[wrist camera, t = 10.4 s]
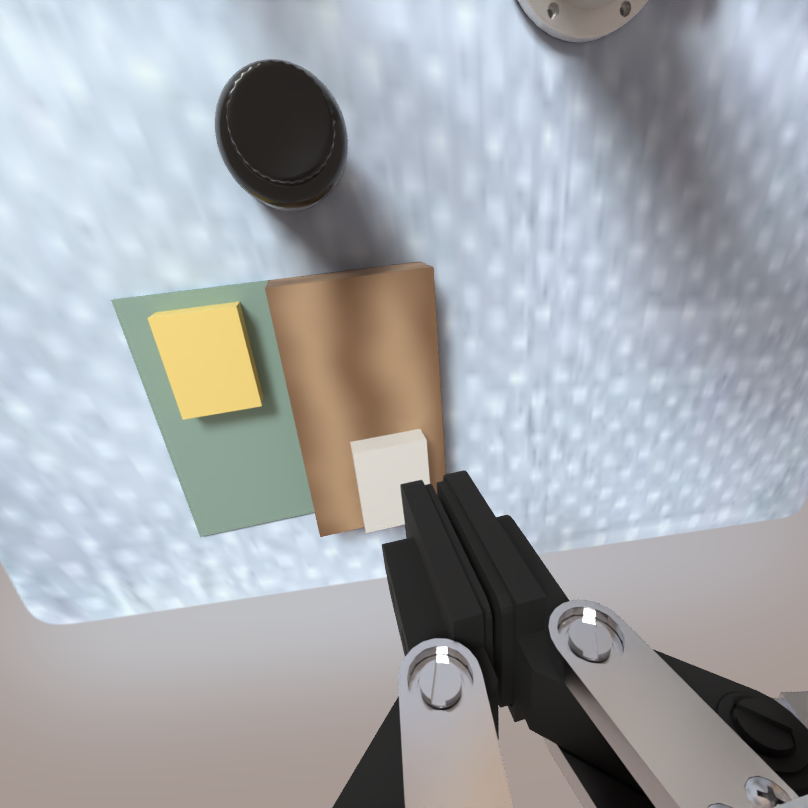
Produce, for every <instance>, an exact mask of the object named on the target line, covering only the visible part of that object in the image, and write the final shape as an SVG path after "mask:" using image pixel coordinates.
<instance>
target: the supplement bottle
mask: <svg viewBox="0 0 808 808" xmlns="http://www.w3.org/2000/svg"><path fill="white" fill-rule="evenodd" d="M215 133H216V139H217V144H218V148H219V151H220V154H221V156H222V159H223V161H224V163H225V165H226V167H227V168H228V170H229V172H230V173H231V175H232V176H233V178H234V179H235V180H236V181H237V183H238V184H239V185H240V186H241V187H242V188H243V189H244V190H245V191H246V192H248V193H249V194H250V195H251V196H253V197H254V198H256V199H257V200H259V201H261V202H262V203H264V204H266V205H267V206H270V207H272V208H274V209H278V210H282V211H301V210H305V209H307V208H310V207H312V206H314V205H315V204H317V203H318V202H319V201H321V200H322V199H323V198H324V197H326V196H327V195H328V194H329V193H330V192H331V191H332V190H333V188H334V187H335V186H336V184H337V183H338V181H339V179H340V177H341V175H342V172H343V170H344V167H345V163H346V158H347V150H348V139H347V131H346V125H345V122H344V118H343V115H342V112H341V110H340V108H339V106H338V104H337V102H336V100H335V98H334V97H333V95H332V94H331V92H330V91H329V90H328V88H327V87H326V86H325V85H324V84H323V83H322V82H321V81H320V80H319V79H318V78H317V77H316V76H315V75H313V74H312V73H311V72H309V71H308V70H306V69H304V68H303V67H301V66H299V65H297V64H294V63H291V62H288V61H284V60H277V59H268V60H261V61H256V62H254V63H251V64H249V65H247V66H245V67H243V68H242V69H240V70H239V71H238V72H236V73H235V74H234V75H233V76H232V77H231V78H230V80H229V81H228V82H227V84H226V85H225V87H224V89H223V90H222V92H221V95H220V97H219V100H218V103H217V108H216V113H215Z"/></svg>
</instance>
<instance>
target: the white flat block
mask: <svg viewBox="0 0 808 808" xmlns="http://www.w3.org/2000/svg"><path fill="white" fill-rule="evenodd" d="M350 444H351V450H352V456H353V462H354V468H355V474H356V481H357V487H358V493H359V499H360V505H361V511H362V517H363V522H364V527H365V531H366V533H369V532H374V531H378V530H382V529H387V528H391V527H396V526H400V525H404V524H405V521H404V513H403V505H402V497H401V489H400V485H401V484H404V483H408V482H413V481H418V480H423V482H424V484H425V485H427V484H430V478H429V465H428V452H427V440H426V438H425V436H424V434H423V433H422V431H421V429H416V430H411V431H406V432H401V433H395V434H390V435H385V436H379V437H374V438H369V439H364V440H358V441H353V442H350Z"/></svg>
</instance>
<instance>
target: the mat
mask: <svg viewBox="0 0 808 808" xmlns="http://www.w3.org/2000/svg"><path fill="white" fill-rule="evenodd" d="M267 282H268V281H259V282H251V283H243V284H235V285H227V286H219V287H211V288H203V289H195V290H187V291H178V292H170V293H162V294H154V295H146V296H138V297H130V298H122V299H114V300H112V303H113V306H114V308H115V311H116V314H117V316H118V319H119V322H120V324H121V327H122V330H123V332H124V335H125V338H126V340H127V343H128V346H129V348H130V351H131V354H132V356H133V359H134V362H135V364H136V367H137V370H138V372H139V375H140V378H141V380H142V383H143V386H144V388H145V391H146V394H147V396H148V399H149V402H150V404H151V407H152V410H153V412H154V415H155V417H156V420H157V423H158V425H159V428H160V431H161V433H162V436H163V439H164V441H165V444H166V447H167V449H168V452H169V455H170V457H171V460H172V463H173V465H174V468H175V471H176V473H177V476H178V479H179V481H180V484H181V487H182V489H183V492H184V495H185V497H186V500H187V503H188V505H189V508H190V511H191V513H192V516H193V519H194V521H195V524H196V527H197V529H198V532H199V535H200V537H202V536H207V535H211V534H216V533H221V532H225V531H230V530H235V529H239V528H244V527H249V526H253V525H258V524H263V523H267V522H272V521H277V520H281V519H286V518H291V517H296V516H300V515H305V514H310V513H314V512H315V511H314V506H313V502H312V497H311V493H310V488H309V484H308V479H307V475H306V471H305V466H304V462H303V457H302V453H301V448H300V444H299V439H298V435H297V430H296V426H295V421H294V417H293V412H292V408H291V403H290V399H289V394H288V390H287V385H286V381H285V376H284V372H283V368H282V363H281V359H280V354H279V350H278V345H277V341H276V336H275V332H274V327H273V323H272V318H271V314H270V309H269V305H268V300H267V296H266V291H265V287H266V285H267ZM239 301H240V305H241V309H242V313H243V317H244V321H245V325H246V329H247V332H248V336H249V340H250V344H251V348H252V352H253V356H254V360H255V364H256V368H257V372H258V376H259V380H260V384H261V388H262V392H263V396H264V397H263V403H262V406H260V407H255V408H249V409H243V410H237V411H231V412H225V413H219V414H213V415H208V416H202V417H196V418H190V419H184V420H183V419H182V416H181V413H180V411H179V408H178V405H177V402H176V399H175V396H174V393H173V390H172V388H171V385H170V382H169V379H168V376H167V373H166V370H165V367H164V364H163V362H162V359H161V356H160V353H159V350H158V347H157V344H156V341H155V338H154V336H153V333H152V330H151V327H150V324H149V321H148V317H150V316H151V315H153V314H154V313H156V312H162V311H170V310H178V309H185V308H193V307H201V306H208V305H216V304H224V303H231V302H239Z"/></svg>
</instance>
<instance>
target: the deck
mask: <svg viewBox="0 0 808 808" xmlns="http://www.w3.org/2000/svg"><path fill="white" fill-rule="evenodd" d="M265 291H266V296H267V300H268V305H269V309H270V314H271V318H272V323H273V327H274V332H275V336H276V341H277V345H278V350H279V354H280V359H281V363H282V368H283V372H284V376H285V381H286V385H287V390H288V394H289V399H290V403H291V408H292V412H293V417H294V421H295V426H296V430H297V435H298V439H299V444H300V448H301V453H302V457H303V462H304V466H305V471H306V475H307V479H308V484H309V488H310V493H311V497H312V502H313V506H314V511H315V515H316V520H317V524H318V529H319V533H320V537H323V536H327V535H332V534H336V533H340V532H345V531H349V530H354V529H358V528H363V527H364V522H363V517H362V511H361V505H360V499H359V493H358V487H357V481H356V474H355V468H354V462H353V456H352V450H351V444H350V442H353V441H358V440H364V439H369V438H374V437H379V436H385V435H390V434H395V433H401V432H406V431H411V430H416V429H421V431H422V433H423V434H424V436H425V438H426V440H427V452H428V465H429V478H430V484H432V485H433V487H434V489H435V491H436V494H437V482H441V481H443V476H444V475H445V474H446V471H445V454H444V437H443V420H442V403H441V386H440V369H439V352H438V335H437V319H436V302H435V285H434V268H433V267H432V266H429V265H427V264H424V263H422V262H413V263H405V264H397V265H389V266H381V267H373V268H365V269H357V270H349V271H340V272H332V273H324V274H316V275H308V276H300V277H292V278H284V279H276V280H268V282H267V285H266V287H265Z"/></svg>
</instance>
